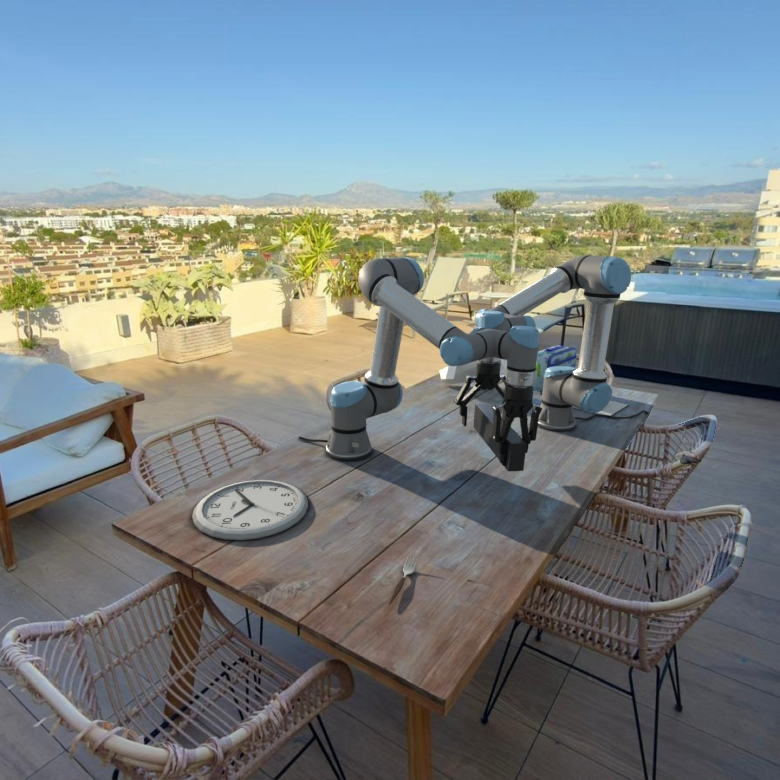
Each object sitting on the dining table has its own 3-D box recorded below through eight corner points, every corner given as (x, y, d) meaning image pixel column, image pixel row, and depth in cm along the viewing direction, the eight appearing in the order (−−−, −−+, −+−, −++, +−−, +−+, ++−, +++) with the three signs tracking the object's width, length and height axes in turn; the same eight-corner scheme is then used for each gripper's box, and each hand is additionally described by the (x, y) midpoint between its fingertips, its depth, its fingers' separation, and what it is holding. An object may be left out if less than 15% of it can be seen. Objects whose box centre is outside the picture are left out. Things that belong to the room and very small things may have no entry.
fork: (383, 605, 105) (383, 597, 105) (407, 560, 120) (408, 552, 119) (395, 608, 104) (395, 600, 104) (418, 562, 119) (419, 555, 118)
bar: (473, 427, 175) (475, 403, 172) (486, 426, 175) (488, 403, 173) (508, 471, 144) (511, 443, 141) (523, 470, 144) (526, 443, 142)
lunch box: (548, 398, 236) (553, 353, 229) (527, 393, 243) (531, 349, 237) (575, 387, 253) (581, 344, 247) (555, 382, 260) (560, 341, 254)
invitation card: (608, 416, 214) (573, 407, 224) (608, 416, 214) (573, 408, 224) (628, 404, 229) (594, 396, 238) (628, 405, 229) (594, 397, 238)
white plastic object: (461, 429, 252) (437, 405, 227) (444, 352, 274) (420, 323, 250) (535, 404, 240) (518, 377, 215) (510, 326, 262) (492, 293, 237)
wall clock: (304, 532, 127) (176, 536, 124) (304, 538, 127) (177, 542, 125) (311, 475, 155) (207, 478, 153) (311, 480, 156) (208, 483, 153)
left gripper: (492, 389, 135) (485, 470, 142) (556, 387, 138) (546, 468, 145) (483, 380, 142) (477, 459, 149) (544, 379, 145) (535, 456, 152)
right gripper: (453, 365, 159) (450, 429, 166) (531, 362, 163) (525, 426, 169) (447, 359, 166) (444, 421, 173) (521, 357, 170) (516, 418, 176)
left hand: (511, 463), depth 147 cm, fingers closed on bar, 4 cm apart
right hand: (484, 424), depth 171 cm, fingers open, 13 cm apart
